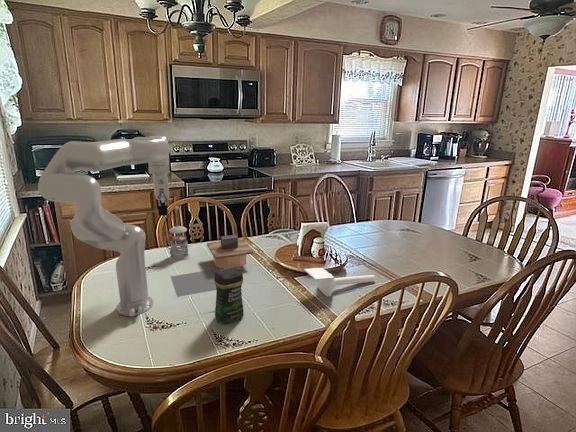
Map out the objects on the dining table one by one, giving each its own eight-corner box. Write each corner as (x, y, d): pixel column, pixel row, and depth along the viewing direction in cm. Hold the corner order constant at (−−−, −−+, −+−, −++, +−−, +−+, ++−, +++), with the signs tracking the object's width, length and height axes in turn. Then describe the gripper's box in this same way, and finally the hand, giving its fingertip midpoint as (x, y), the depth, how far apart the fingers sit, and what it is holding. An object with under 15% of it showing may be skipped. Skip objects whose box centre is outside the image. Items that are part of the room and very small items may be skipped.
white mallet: (304, 268, 152) (368, 264, 166) (301, 289, 154) (364, 282, 168) (315, 279, 144) (382, 273, 158) (312, 300, 146) (378, 292, 160)
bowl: (249, 266, 173) (249, 252, 171) (218, 271, 168) (218, 257, 166) (240, 255, 185) (239, 241, 183) (211, 259, 180) (210, 245, 178)
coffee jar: (222, 327, 129) (221, 277, 123) (212, 316, 135) (209, 268, 129) (247, 318, 135) (246, 270, 129) (236, 308, 141) (235, 261, 135)
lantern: (193, 258, 181) (190, 207, 173) (169, 263, 175) (165, 211, 167) (186, 251, 189) (183, 202, 181) (162, 256, 182) (158, 206, 174)
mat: (223, 289, 153) (223, 288, 153) (177, 298, 146) (177, 296, 146) (213, 270, 169) (213, 269, 169) (170, 277, 162) (170, 276, 162)
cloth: (253, 253, 170) (253, 241, 169) (215, 259, 164) (215, 246, 162) (241, 240, 185) (241, 228, 183) (206, 245, 178) (206, 233, 177)
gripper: (171, 172, 140) (174, 217, 145) (167, 165, 155) (169, 205, 160) (150, 173, 137) (153, 219, 142) (147, 165, 153) (150, 207, 158)
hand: (162, 211), depth 151 cm, fingers open, 9 cm apart
